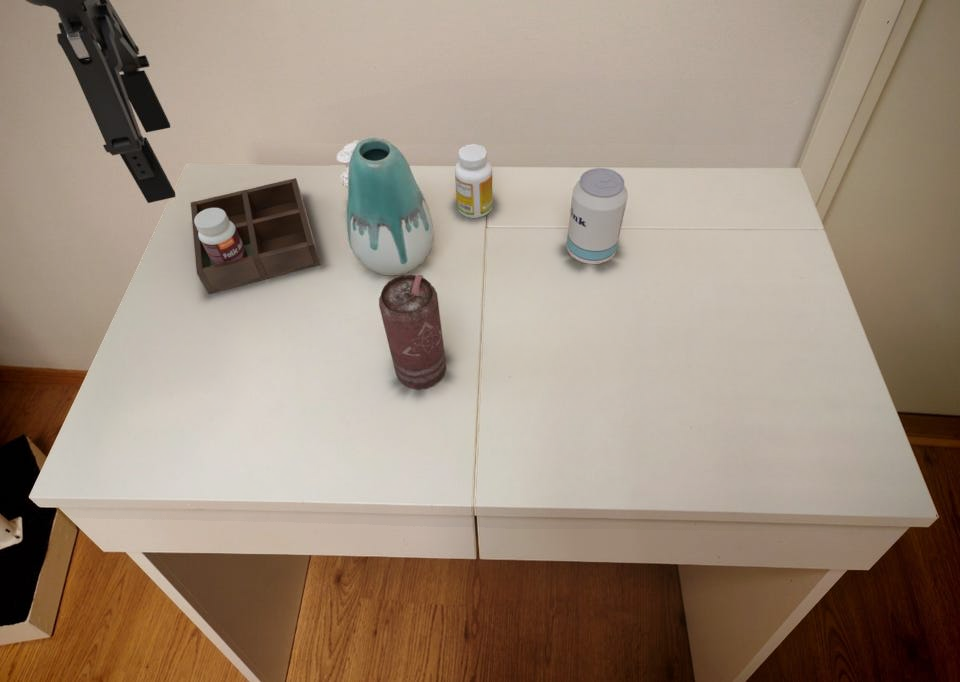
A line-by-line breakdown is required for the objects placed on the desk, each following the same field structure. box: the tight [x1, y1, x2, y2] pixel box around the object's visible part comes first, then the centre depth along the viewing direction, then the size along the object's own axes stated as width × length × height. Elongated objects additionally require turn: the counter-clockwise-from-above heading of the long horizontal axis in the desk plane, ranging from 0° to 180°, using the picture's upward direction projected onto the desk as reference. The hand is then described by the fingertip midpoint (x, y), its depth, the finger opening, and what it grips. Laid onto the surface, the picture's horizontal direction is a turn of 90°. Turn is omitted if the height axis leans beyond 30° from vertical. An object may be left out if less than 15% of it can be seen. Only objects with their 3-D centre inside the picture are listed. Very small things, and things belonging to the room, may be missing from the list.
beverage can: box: [566, 167, 629, 265], centre depth 79 cm, size 7×7×12 cm
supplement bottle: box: [454, 143, 494, 219], centre depth 86 cm, size 5×5×10 cm
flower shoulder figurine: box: [336, 140, 361, 189], centre depth 86 cm, size 9×4×12 cm, turn 1°
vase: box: [345, 137, 435, 276], centre depth 77 cm, size 12×12×18 cm
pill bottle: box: [194, 208, 249, 265], centre depth 80 cm, size 5×5×8 cm
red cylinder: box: [378, 274, 447, 390], centre depth 66 cm, size 6×6×14 cm
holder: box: [190, 177, 321, 295], centre depth 85 cm, size 15×15×4 cm
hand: (160, 161), depth 65 cm, fingers open, 13 cm apart
